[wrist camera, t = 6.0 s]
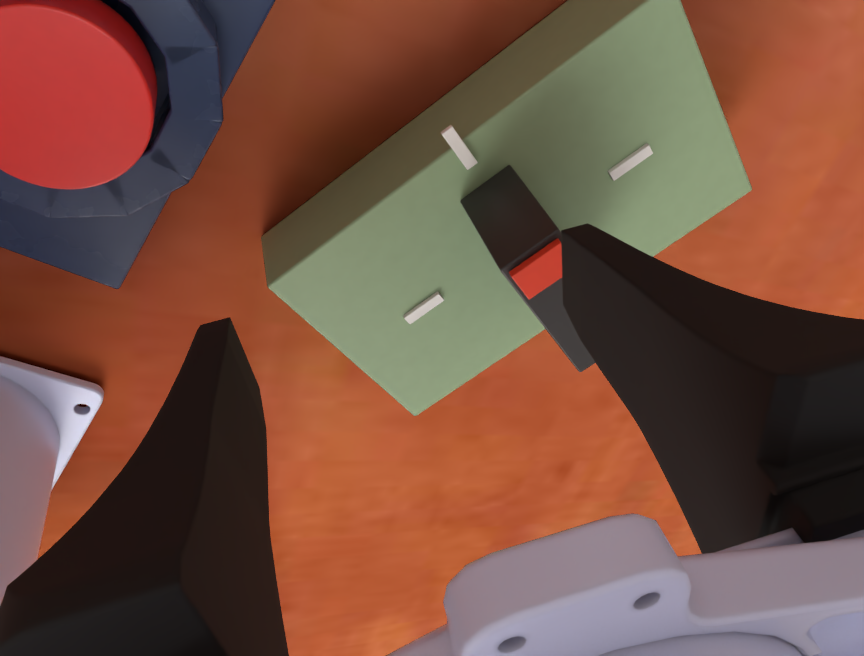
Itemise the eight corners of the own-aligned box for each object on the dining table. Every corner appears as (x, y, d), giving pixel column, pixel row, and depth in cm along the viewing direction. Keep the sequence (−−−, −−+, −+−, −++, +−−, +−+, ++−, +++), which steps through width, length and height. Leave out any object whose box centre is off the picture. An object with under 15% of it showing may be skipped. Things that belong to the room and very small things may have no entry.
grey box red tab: (580, 269, 24) (636, 344, 21) (534, 300, 24) (583, 378, 21) (509, 163, 21) (562, 233, 18) (458, 200, 21) (502, 275, 18)
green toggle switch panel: (406, 372, 29) (424, 428, 27) (247, 224, 23) (252, 278, 21) (710, 163, 26) (761, 204, 24) (615, -63, 21) (669, -39, 18)
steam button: (117, 184, 18) (110, 218, 17) (-63, 106, 16) (-86, 137, 15) (186, 47, 17) (185, 73, 15) (-3, -59, 15) (-23, -41, 13)
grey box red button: (123, 260, 23) (113, 326, 20) (-139, 160, 19) (-193, 224, 17) (313, -96, 18) (332, -70, 16) (15, -317, 15) (-26, -334, 12)
